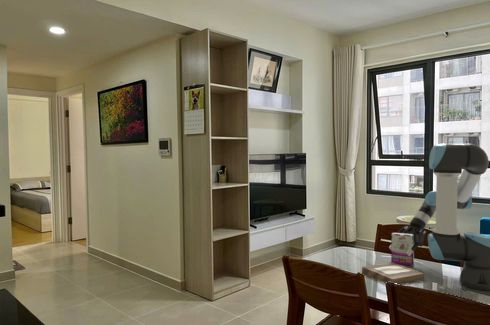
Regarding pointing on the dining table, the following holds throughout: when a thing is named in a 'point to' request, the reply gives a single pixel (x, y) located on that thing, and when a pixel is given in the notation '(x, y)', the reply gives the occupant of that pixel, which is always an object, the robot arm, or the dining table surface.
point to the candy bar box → (401, 248)
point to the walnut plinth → (393, 273)
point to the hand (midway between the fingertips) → (399, 251)
